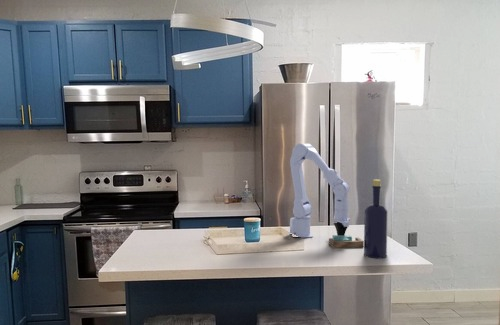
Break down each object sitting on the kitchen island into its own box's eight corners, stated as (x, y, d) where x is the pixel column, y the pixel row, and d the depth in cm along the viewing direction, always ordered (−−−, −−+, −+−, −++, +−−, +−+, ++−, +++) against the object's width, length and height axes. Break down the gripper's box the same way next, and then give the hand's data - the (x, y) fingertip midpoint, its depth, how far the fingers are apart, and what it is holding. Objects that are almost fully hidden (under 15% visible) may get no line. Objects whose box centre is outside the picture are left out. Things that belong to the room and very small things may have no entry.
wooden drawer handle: (333, 247, 157) (333, 242, 156) (328, 243, 163) (328, 238, 163) (363, 247, 158) (363, 241, 158) (357, 243, 164) (358, 237, 164)
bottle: (384, 251, 151) (385, 178, 149) (390, 258, 142) (392, 181, 140) (361, 251, 152) (362, 178, 150) (365, 258, 143) (367, 181, 141)
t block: (336, 246, 158) (336, 239, 158) (332, 241, 166) (332, 235, 166) (355, 246, 159) (355, 239, 158) (350, 241, 166) (350, 235, 166)
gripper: (355, 212, 159) (355, 243, 160) (344, 206, 174) (343, 234, 175) (339, 212, 159) (339, 243, 160) (329, 206, 173) (329, 235, 174)
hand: (340, 238), depth 167 cm, fingers closed
